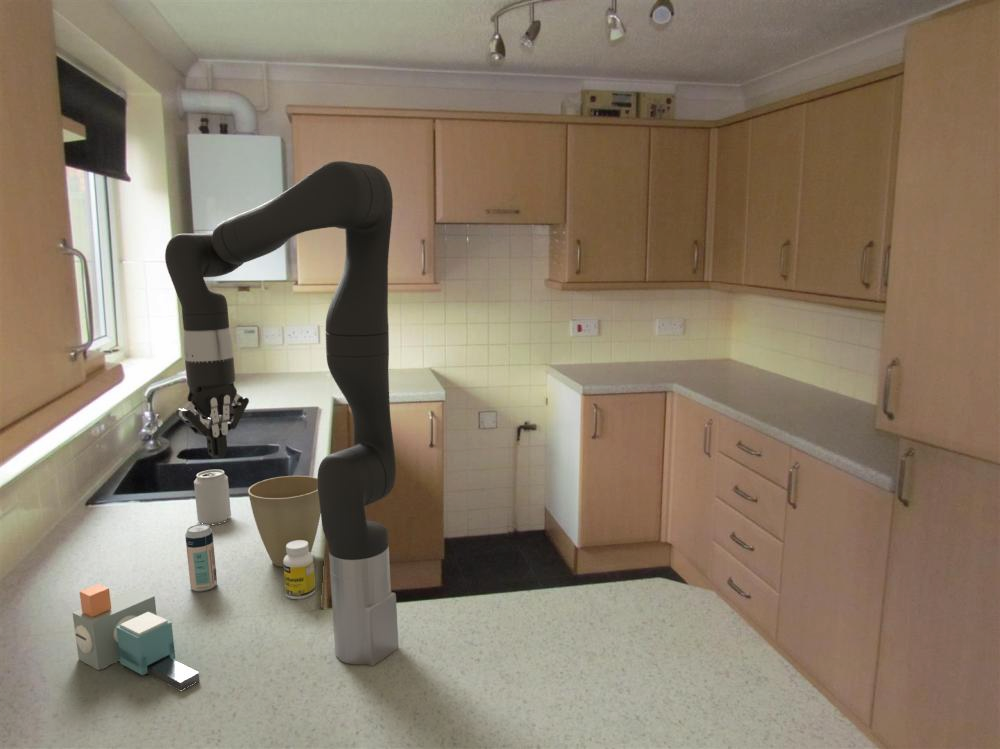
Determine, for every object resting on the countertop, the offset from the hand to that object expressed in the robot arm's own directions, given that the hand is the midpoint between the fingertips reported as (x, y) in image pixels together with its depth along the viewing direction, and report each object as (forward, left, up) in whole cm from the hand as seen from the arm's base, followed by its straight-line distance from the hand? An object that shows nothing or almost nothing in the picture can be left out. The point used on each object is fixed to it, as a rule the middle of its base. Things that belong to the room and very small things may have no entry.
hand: (218, 456), depth 124 cm
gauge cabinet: (+6, +17, -29) cm, 34 cm away
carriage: (-2, +17, -29) cm, 34 cm away
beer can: (+14, -4, -29) cm, 33 cm away
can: (+43, -27, -29) cm, 59 cm away
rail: (-5, +17, -29) cm, 34 cm away
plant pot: (+9, -21, -29) cm, 37 cm away
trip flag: (+6, +20, -21) cm, 29 cm away
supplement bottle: (-4, -12, -29) cm, 32 cm away
